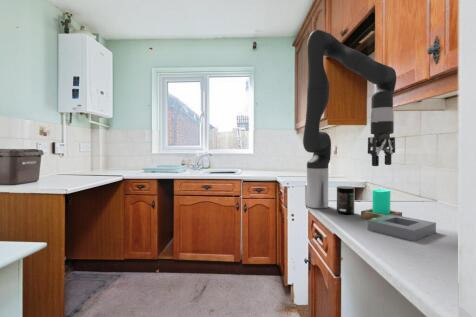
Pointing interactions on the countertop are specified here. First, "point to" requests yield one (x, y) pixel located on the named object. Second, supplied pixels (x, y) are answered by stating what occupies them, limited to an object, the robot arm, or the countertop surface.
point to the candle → (381, 201)
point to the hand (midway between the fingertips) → (381, 165)
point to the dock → (402, 227)
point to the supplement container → (345, 200)
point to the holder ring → (369, 215)
